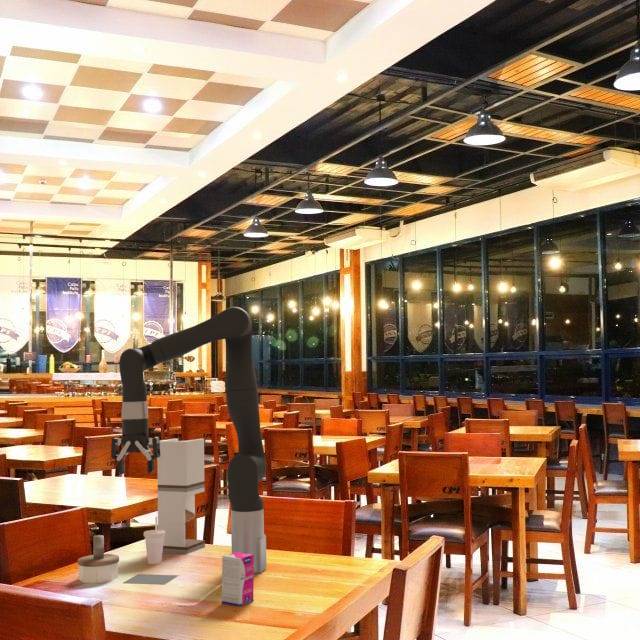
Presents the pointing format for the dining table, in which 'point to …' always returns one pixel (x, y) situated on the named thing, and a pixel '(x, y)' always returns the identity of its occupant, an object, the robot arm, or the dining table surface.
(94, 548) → the lid
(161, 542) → the smoothie
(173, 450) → the white coffee maker
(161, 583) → the mat
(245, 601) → the supplement box
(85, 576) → the bowl
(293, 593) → the dining table surface
